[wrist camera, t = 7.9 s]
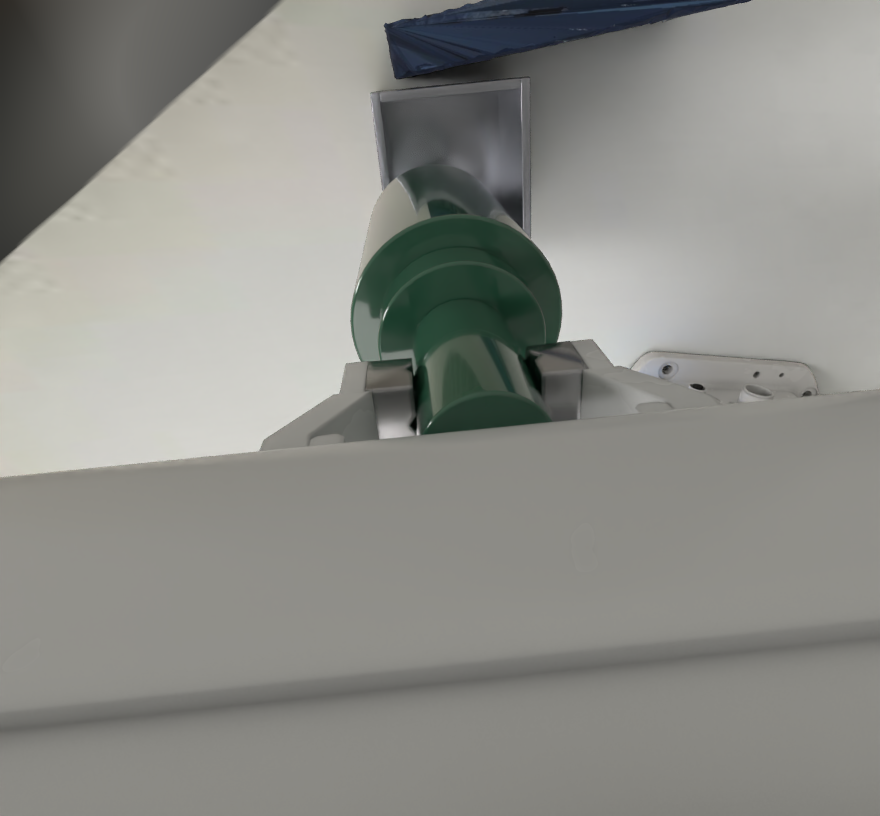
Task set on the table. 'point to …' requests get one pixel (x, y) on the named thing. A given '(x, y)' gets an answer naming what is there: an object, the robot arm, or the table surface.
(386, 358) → the bottle
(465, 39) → the vhs cassette tape
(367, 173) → the table surface
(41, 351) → the table surface
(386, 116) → the bin
